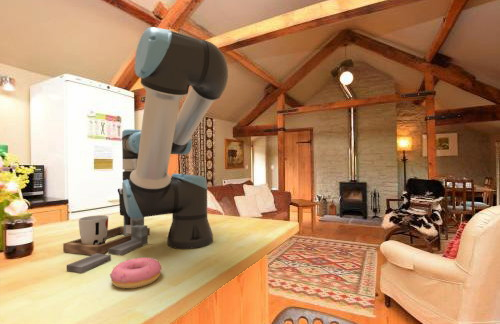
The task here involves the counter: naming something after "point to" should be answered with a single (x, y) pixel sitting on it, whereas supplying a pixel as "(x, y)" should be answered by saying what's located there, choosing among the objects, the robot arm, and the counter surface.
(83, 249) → the wooden serving tray
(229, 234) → the counter surface
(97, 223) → the cup
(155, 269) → the doughnut
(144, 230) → the broken strip
